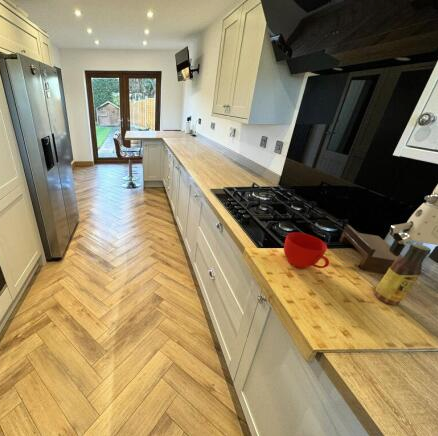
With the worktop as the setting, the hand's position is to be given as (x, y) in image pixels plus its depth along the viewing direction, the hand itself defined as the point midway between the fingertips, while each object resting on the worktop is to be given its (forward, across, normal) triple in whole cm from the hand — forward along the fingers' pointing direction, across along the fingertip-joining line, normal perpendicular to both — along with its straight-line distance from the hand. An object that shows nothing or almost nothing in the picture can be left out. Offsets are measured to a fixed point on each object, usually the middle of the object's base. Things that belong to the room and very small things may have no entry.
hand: (413, 256), depth 68 cm
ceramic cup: (+17, -22, +10) cm, 29 cm away
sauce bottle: (+17, 0, 0) cm, 17 cm away
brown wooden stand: (+16, +6, +25) cm, 31 cm away
